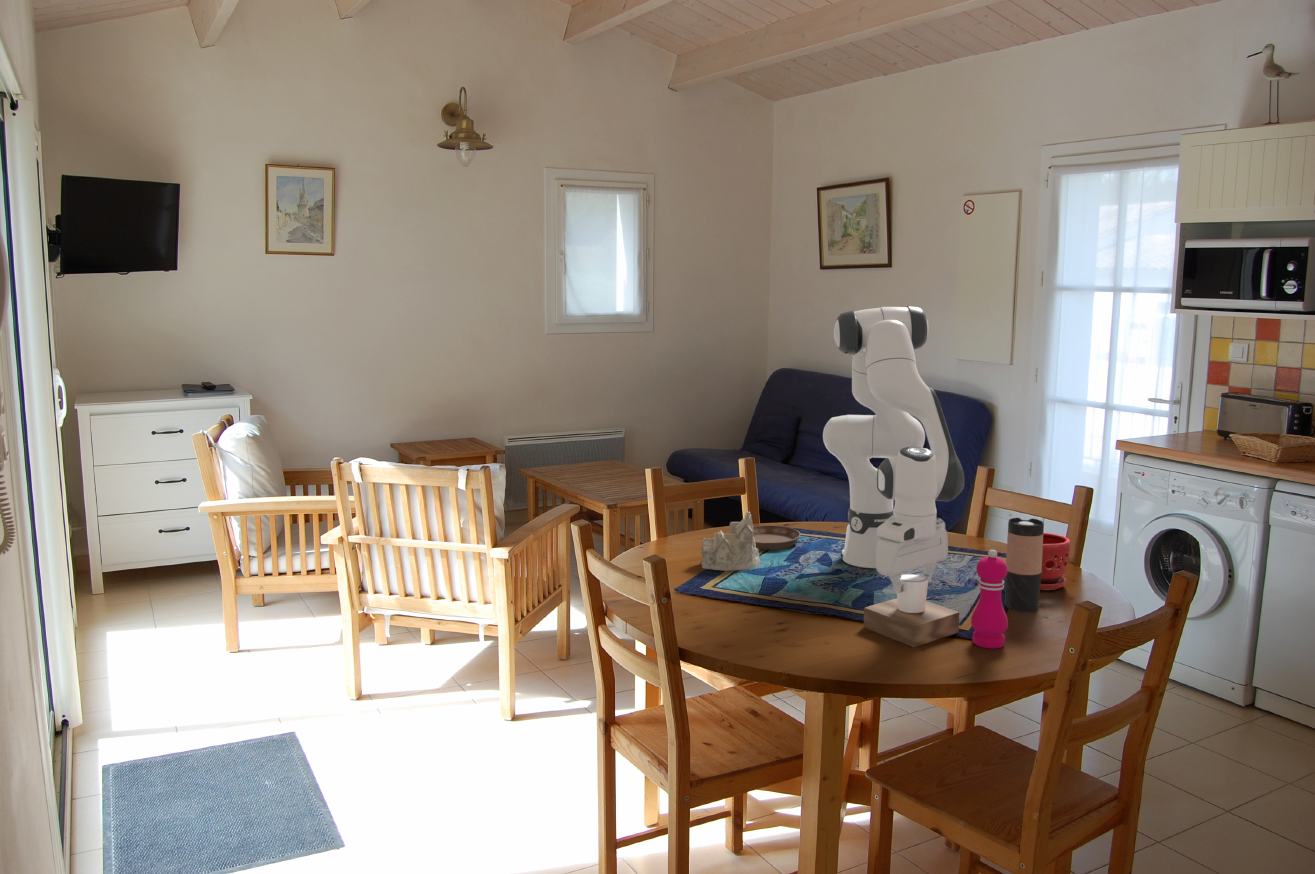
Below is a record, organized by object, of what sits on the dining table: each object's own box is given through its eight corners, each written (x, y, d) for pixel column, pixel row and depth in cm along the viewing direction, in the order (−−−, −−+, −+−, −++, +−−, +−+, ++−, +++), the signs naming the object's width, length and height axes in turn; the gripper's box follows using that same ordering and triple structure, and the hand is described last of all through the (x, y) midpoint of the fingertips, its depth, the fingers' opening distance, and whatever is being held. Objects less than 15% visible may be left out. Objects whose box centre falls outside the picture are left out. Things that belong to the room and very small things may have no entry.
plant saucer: (750, 554, 267) (750, 544, 266) (729, 538, 284) (729, 527, 283) (810, 549, 271) (810, 538, 271) (785, 533, 288) (785, 523, 288)
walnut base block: (907, 615, 220) (908, 594, 219) (958, 634, 208) (959, 612, 207) (863, 629, 212) (864, 607, 211) (914, 649, 200) (914, 626, 199)
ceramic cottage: (762, 553, 267) (758, 500, 264) (758, 573, 251) (755, 517, 248) (705, 554, 269) (701, 502, 266) (698, 575, 254) (694, 519, 251)
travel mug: (1022, 614, 218) (1027, 527, 215) (996, 604, 225) (1000, 519, 221) (1046, 608, 222) (1051, 523, 218) (1020, 598, 228) (1024, 515, 225)
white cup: (929, 614, 205) (930, 581, 204) (896, 613, 206) (896, 581, 206) (926, 604, 212) (926, 573, 211) (893, 603, 213) (894, 572, 212)
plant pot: (1075, 583, 238) (1078, 536, 236) (1054, 597, 229) (1057, 548, 227) (1023, 573, 247) (1025, 527, 245) (1001, 585, 238) (1003, 538, 236)
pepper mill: (964, 637, 205) (968, 545, 202) (997, 635, 206) (1002, 544, 202) (978, 650, 198) (982, 555, 195) (1013, 648, 199) (1018, 554, 195)
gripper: (932, 513, 215) (930, 574, 217) (871, 529, 202) (869, 593, 205) (956, 519, 210) (954, 581, 212) (895, 536, 197) (893, 601, 200)
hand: (912, 587), depth 208 cm, fingers open, 8 cm apart
